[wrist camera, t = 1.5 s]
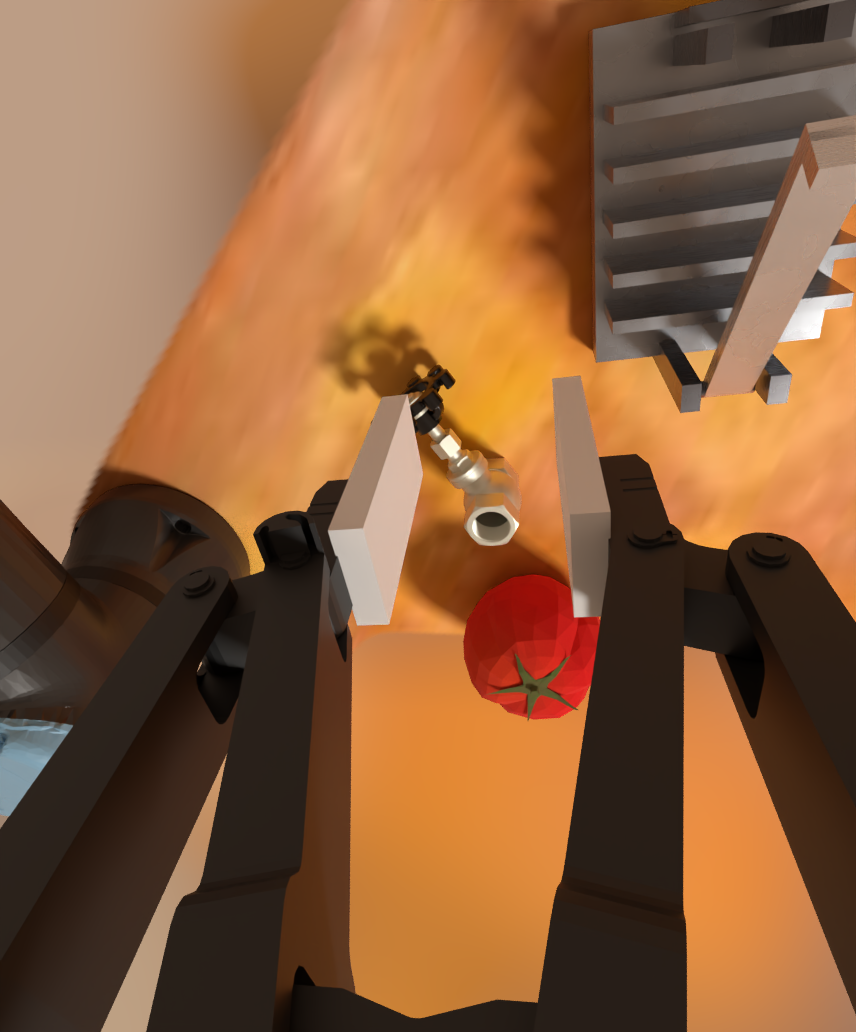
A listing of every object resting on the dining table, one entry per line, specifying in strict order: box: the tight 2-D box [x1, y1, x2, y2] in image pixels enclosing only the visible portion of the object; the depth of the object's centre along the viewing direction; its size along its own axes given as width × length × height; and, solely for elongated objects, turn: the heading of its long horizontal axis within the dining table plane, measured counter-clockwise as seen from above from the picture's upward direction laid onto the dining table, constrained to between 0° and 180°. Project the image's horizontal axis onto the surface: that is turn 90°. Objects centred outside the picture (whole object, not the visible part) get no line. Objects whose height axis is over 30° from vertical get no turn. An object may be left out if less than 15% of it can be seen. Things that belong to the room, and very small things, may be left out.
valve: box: [371, 365, 521, 546], centre depth 44 cm, size 7×7×12 cm
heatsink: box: [589, 0, 856, 413], centre depth 32 cm, size 18×13×8 cm
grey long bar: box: [701, 115, 856, 398], centre depth 27 cm, size 16×3×2 cm
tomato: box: [463, 574, 600, 720], centre depth 51 cm, size 12×12×10 cm
